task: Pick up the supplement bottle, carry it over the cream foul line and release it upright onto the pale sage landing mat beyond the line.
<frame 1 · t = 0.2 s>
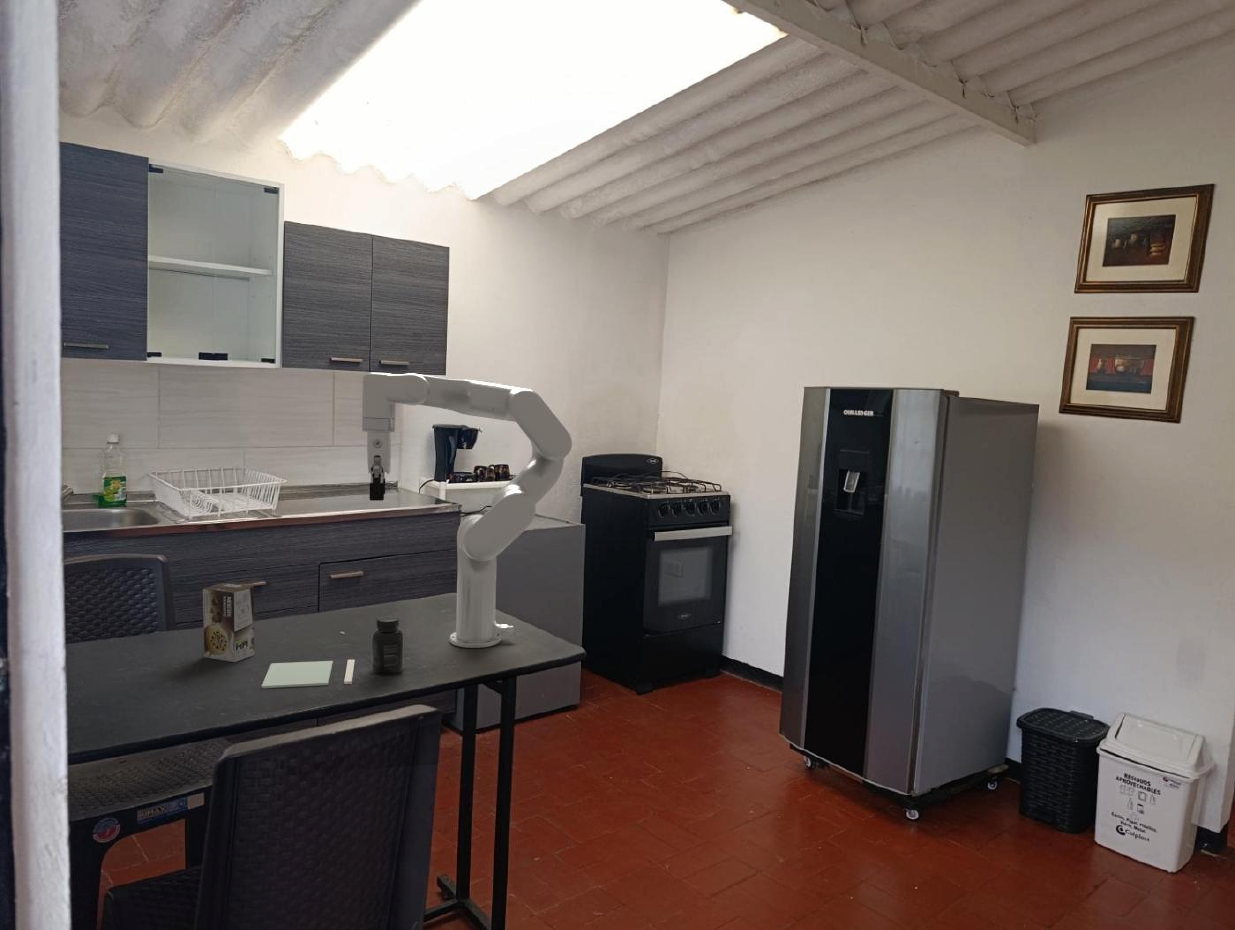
hand: (377, 497, 201), 36 cm above the table, tool pointing down, fingers open, 9 cm apart
coffee box: (229, 657, 193), on the table
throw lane: (330, 673, 185), on the table
supplement bottle: (387, 672, 188), on the table
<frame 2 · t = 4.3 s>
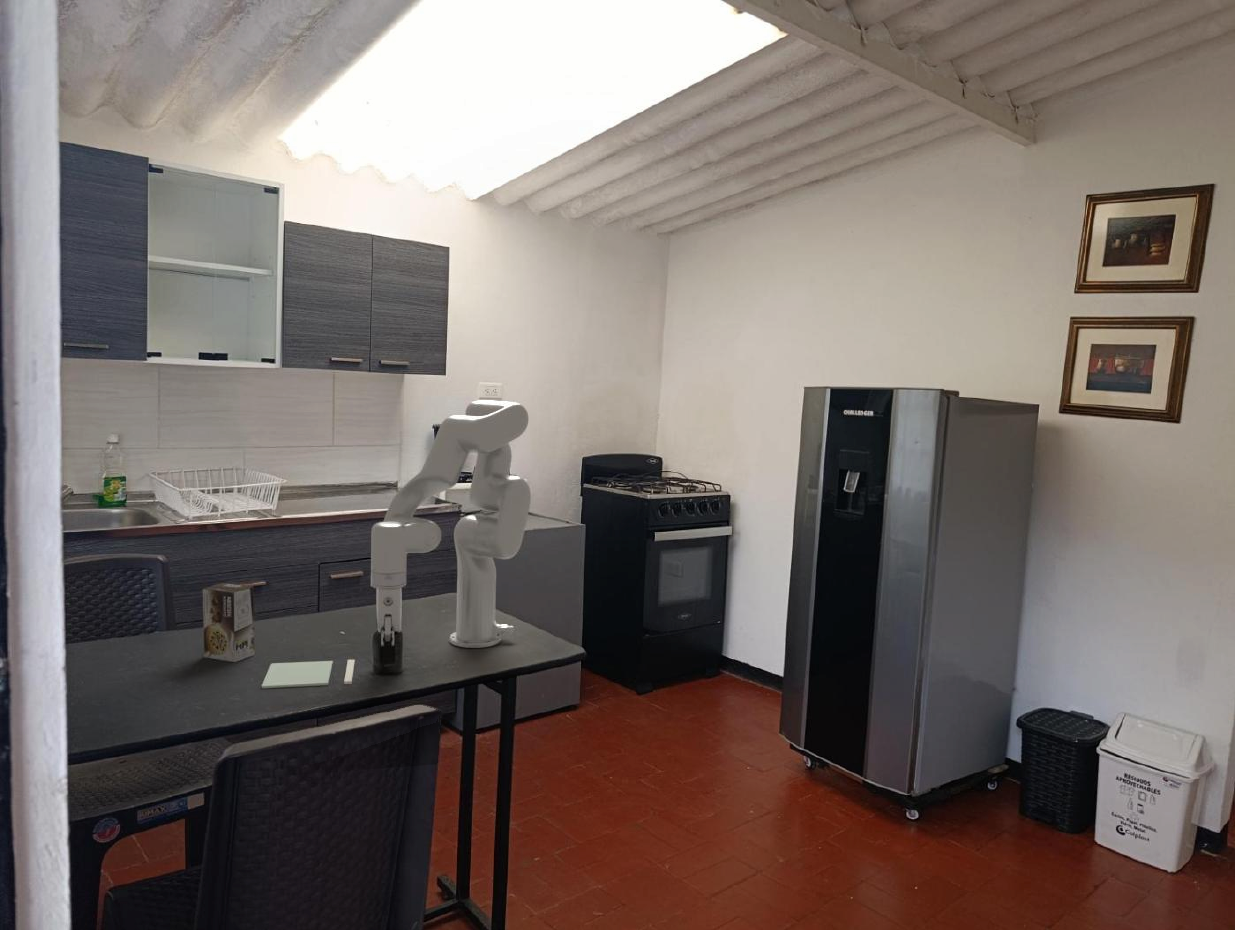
hand: (387, 656, 187), 3 cm above the table, tool pointing down, fingers closed on supplement bottle, 6 cm apart
supplement bottle: (387, 671, 188), on the table, touching gripper
everything else where it was.
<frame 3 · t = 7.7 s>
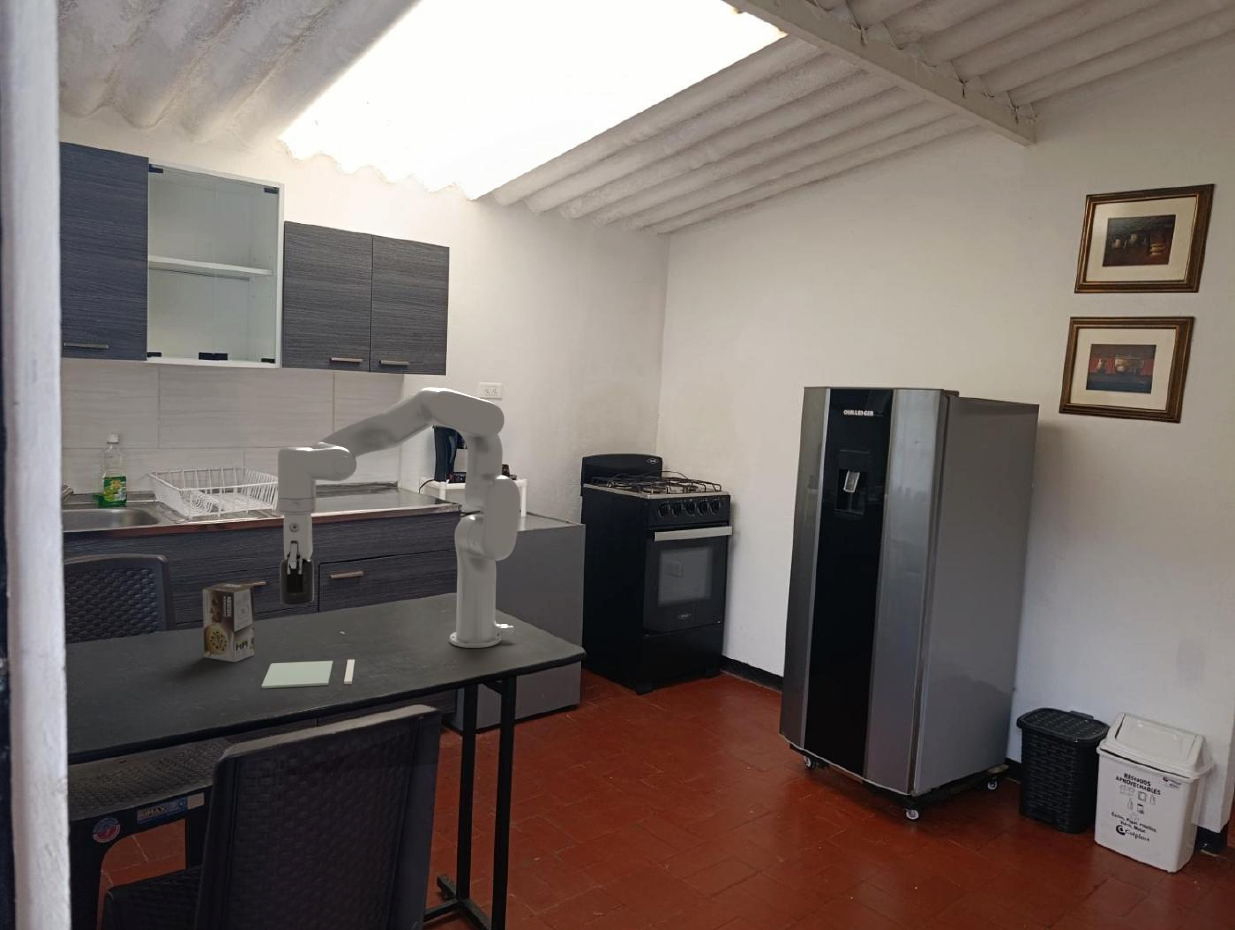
hand: (297, 587, 181), 19 cm above the table, tool pointing down, fingers closed on supplement bottle, 6 cm apart
supplement bottle: (297, 602, 181), point 16 cm above the table, touching gripper
everything else where it was.
when the fingers open (5 cm above the table, at t = 11.3 s): supplement bottle drops 1 cm, resting on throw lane.
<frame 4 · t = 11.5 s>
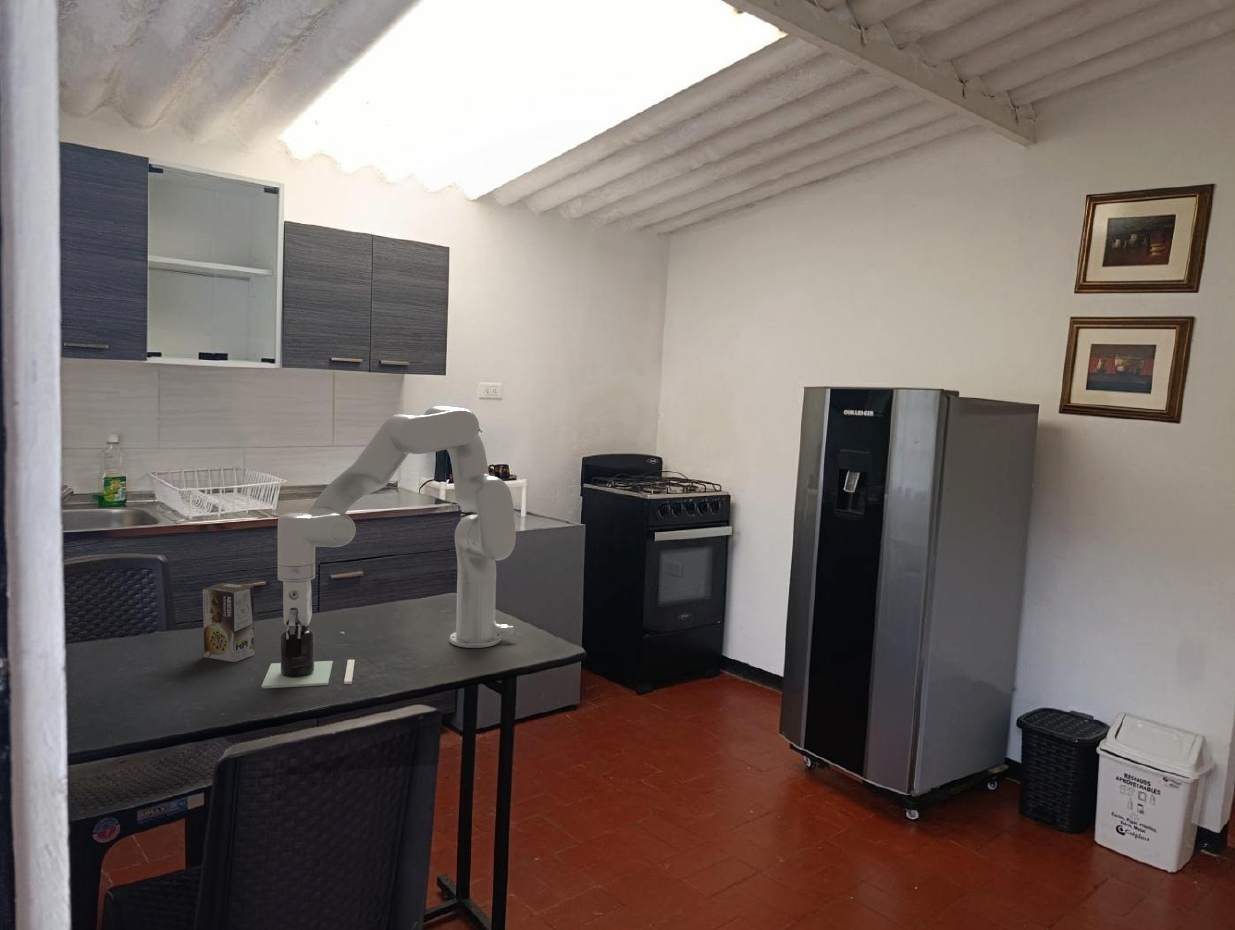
hand: (296, 649, 182), 6 cm above the table, tool pointing down, fingers open, 9 cm apart
supplement bottle: (297, 673, 183), resting on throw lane
everything else where it was.
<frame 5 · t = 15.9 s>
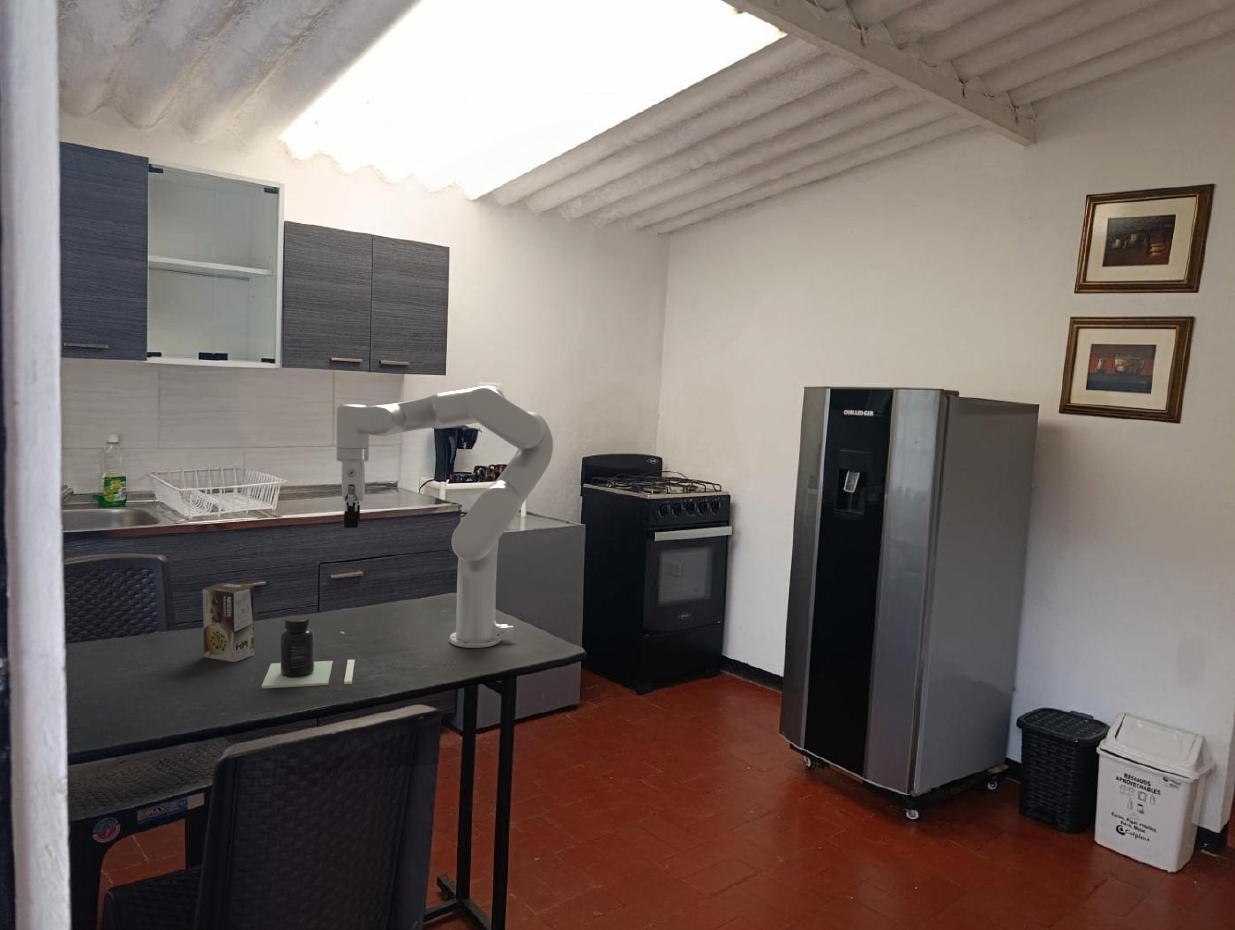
hand: (352, 524, 209), 28 cm above the table, tool pointing down, fingers open, 9 cm apart
nothing on the table moved.
at the end: supplement bottle inside the target area (0.2 cm from its centre), resting on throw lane; the gripper is holding nothing; supplement bottle tilted 0° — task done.
